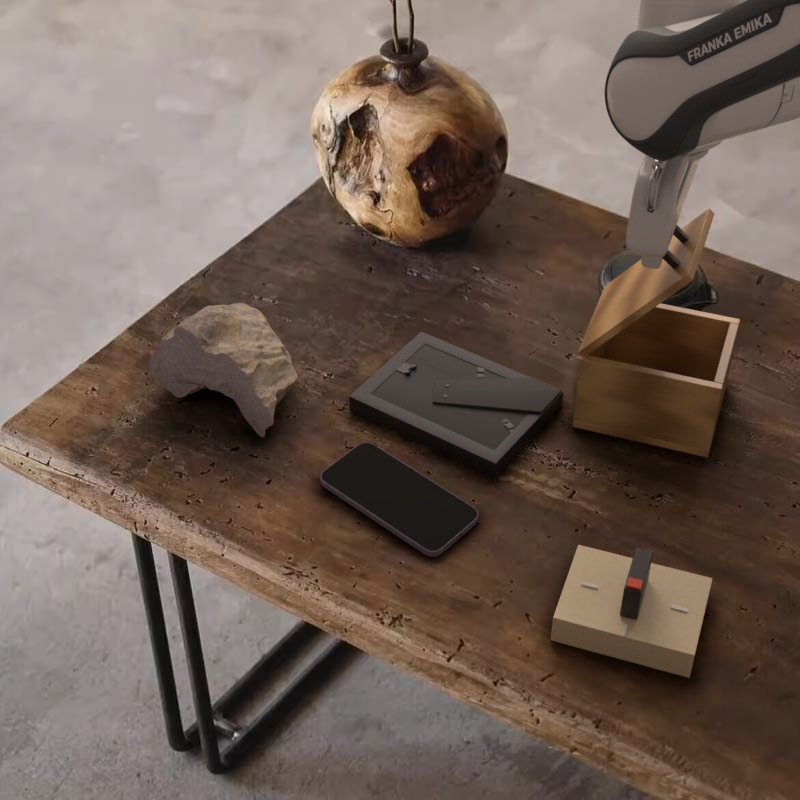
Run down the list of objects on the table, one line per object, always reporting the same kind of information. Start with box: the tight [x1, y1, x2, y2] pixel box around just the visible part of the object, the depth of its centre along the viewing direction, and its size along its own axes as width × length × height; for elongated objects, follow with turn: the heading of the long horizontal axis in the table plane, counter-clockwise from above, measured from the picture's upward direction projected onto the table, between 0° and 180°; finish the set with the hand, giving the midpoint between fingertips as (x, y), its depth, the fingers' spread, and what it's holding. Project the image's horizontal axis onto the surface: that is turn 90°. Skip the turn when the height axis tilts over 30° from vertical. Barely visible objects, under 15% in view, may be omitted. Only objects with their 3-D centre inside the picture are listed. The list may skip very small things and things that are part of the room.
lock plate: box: [550, 544, 713, 679], centre depth 114 cm, size 12×9×3 cm
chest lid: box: [577, 208, 715, 358], centre depth 127 cm, size 15×12×5 cm
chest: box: [572, 303, 741, 458], centre depth 134 cm, size 14×12×9 cm
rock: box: [148, 302, 299, 438], centre depth 137 cm, size 16×13×10 cm
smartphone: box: [319, 441, 479, 558], centre depth 126 cm, size 7×1×15 cm
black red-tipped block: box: [620, 547, 654, 620], centre depth 112 cm, size 5×2×4 cm, turn 161°
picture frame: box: [348, 331, 565, 479], centre depth 136 cm, size 13×2×18 cm
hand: (659, 244), depth 125 cm, fingers closed on chest lid, 5 cm apart
